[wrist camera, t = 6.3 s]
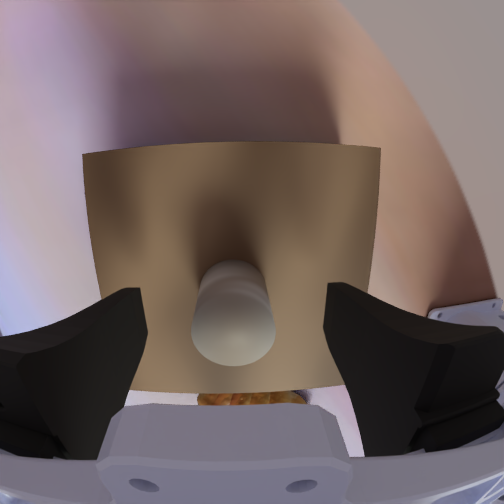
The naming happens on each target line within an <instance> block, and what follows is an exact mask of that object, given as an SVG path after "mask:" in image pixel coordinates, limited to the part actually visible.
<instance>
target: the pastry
mask: <svg viewBox="0 0 504 504" xmlns="http://www.w3.org/2000/svg"><path fill="white" fill-rule="evenodd" d="M197 402H198V405H210V406H220V405H258V404H275V403H296V404H307V403H306V402H305V400H304V399H303V398H302V397H301V396H300V395H298V394H296V393H294V392H293V391H291V390H290V391H276V392H258V393H221V394H205V393H199V395H198V397H197Z"/></svg>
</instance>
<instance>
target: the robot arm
mask: <svg viewBox="0 0 504 504" xmlns="http://www.w3.org/2000/svg"><path fill="white" fill-rule="evenodd" d="M502 303H503V300H502V299H501V298H496V299H491V300H485V301H480V302H474V303H468V304H462V305H456V306H449V307H443V308H436V309H433V310H431V311H430V312H429V315H428V318H426V317H423V316H419V315H416V314H413V313H410V312H407V311H405V310H402V309H399V308H397V307H395V306H393V305H390V304H388V303H386V302H384V301H382V300H379V299H377V298H375V297H373V296H371V295H369V294H368V293H366V292H364V291H362V290H360V289H358V288H356V287H354V286H352V285H350V284H347V283H344V282H331V283H327V293H326V303H325V312H324V321H323V331H324V334H325V338H326V342H327V345H328V348H329V350H330V353H331V355H332V357H333V359H334V362H335V364H336V366H337V368H338V370H339V372H340V375H341V377H342V379H343V381H344V383H345V386H346V388H347V390H348V393H349V396H350V398H351V402H352V405H353V409H354V412H355V416H356V419H357V423H358V427H359V431H360V435H361V440H362V445H363V450H364V455H365V457H349V454H348V451H347V448H346V445H345V442H344V439H343V437H342V434H341V431H340V428H339V425H338V422H337V419H336V416H334V415H333V414H331V413H330V412H328V411H326V410H325V409H323V408H321V407H320V406H318V405H309V404H296V403H275V404H258V405H220V406H210V405H172V404H155V403H152V404H143V405H134V406H125V407H124V405H125V401H126V398H127V394H128V392H129V389H130V386H131V384H132V381H133V379H134V376H135V374H136V371H137V369H138V366H139V363H140V361H141V358H142V356H143V353H144V349H145V345H146V341H147V336H148V328H147V323H146V318H145V312H144V307H143V301H142V295H141V289H140V287H126V288H123V289H120V290H118V291H116V292H114V293H112V294H111V295H109V296H107V297H105V298H104V299H102V300H100V301H98V302H97V303H95V304H93V305H91V306H89V307H87V308H86V309H84V310H82V311H80V312H78V313H76V314H74V315H72V316H70V317H68V318H66V319H63V320H61V321H58V322H56V323H53V324H51V325H48V326H45V327H41V328H38V329H35V330H32V331H28V332H24V333H20V334H15V335H9V336H3V337H0V504H504V311H502V310H501V307H502ZM439 313H440V314H439ZM438 314H439V315H438Z"/></svg>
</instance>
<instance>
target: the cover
mask: <svg viewBox="0 0 504 504" xmlns="http://www.w3.org/2000/svg"><path fill="white" fill-rule="evenodd" d="M82 157H83V174H84V186H85V197H86V207H87V216H88V224H89V231H90V238H91V245H92V251H93V257H94V263H95V268H96V274H97V279H98V284H99V289H100V294H101V298H102V299H104V298H105V297H107V296H109V295H111V294H112V293H114V292H116V291H118V290H120V289H123V288H126V287H140V289H141V295H142V301H143V307H144V312H145V318H146V323H147V328H148V336H147V341H146V345H145V349H144V353H143V356H142V358H141V361H140V363H139V366H138V369H137V371H136V374H135V376H134V379H133V381H132V384H131V386H130V389H129V390H137V391H151V392H169V393H205V394H221V393H258V392H276V391H290V390H302V389H312V388H321V387H330V386H338V385H345V383H344V381H343V379H342V377H341V375H340V372H339V370H338V368H337V366H336V364H335V362H334V359H333V357H332V355H331V353H330V350H329V348H328V345H327V342H326V338H325V334H324V331H323V321H324V312H325V303H326V293H327V283H331V282H344V283H347V284H350V285H352V286H354V287H356V288H358V289H360V290H362V291H364V292H366V293H367V291H368V285H369V278H370V271H371V264H372V256H373V248H374V239H375V230H376V219H377V208H378V195H379V179H380V157H381V148H377V147H367V146H356V145H343V144H327V143H308V142H272V141H240V142H204V143H184V144H169V145H156V146H145V147H135V148H125V149H117V150H108V151H101V152H93V153H86V154H82Z"/></svg>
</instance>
